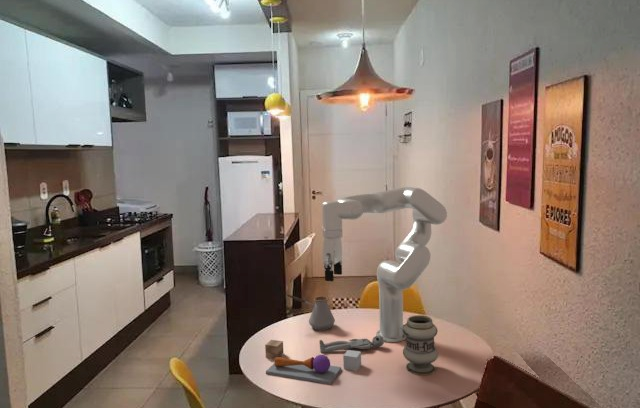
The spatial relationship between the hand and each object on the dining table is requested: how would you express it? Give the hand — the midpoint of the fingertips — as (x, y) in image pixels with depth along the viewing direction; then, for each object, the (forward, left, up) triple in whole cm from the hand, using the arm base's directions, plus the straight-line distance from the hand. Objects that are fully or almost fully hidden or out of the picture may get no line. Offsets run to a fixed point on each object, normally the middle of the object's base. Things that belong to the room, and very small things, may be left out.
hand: (333, 277), depth 179 cm
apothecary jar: (-34, +7, -28) cm, 45 cm away
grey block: (-11, +13, -28) cm, 33 cm away
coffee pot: (+18, -18, -28) cm, 38 cm away
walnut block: (+20, +13, -28) cm, 37 cm away
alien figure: (-6, -2, -29) cm, 30 cm away
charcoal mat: (+4, +22, -28) cm, 36 cm away
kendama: (+4, +22, -28) cm, 36 cm away
